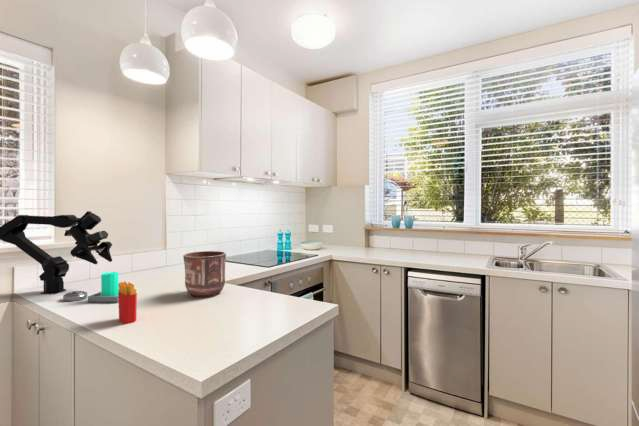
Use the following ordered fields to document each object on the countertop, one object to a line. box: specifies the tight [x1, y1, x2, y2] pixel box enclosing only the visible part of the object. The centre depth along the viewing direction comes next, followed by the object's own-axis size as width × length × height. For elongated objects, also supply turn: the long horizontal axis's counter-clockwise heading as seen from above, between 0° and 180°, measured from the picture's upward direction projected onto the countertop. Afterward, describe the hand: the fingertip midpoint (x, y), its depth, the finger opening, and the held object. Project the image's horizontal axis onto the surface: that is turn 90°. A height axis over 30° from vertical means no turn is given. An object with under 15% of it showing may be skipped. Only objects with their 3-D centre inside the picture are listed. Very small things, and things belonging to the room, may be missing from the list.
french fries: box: [118, 281, 138, 324], centre depth 109 cm, size 9×4×13 cm, turn 48°
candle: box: [100, 271, 120, 296], centre depth 134 cm, size 6×6×12 cm
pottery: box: [183, 250, 227, 298], centre depth 143 cm, size 18×18×18 cm
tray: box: [87, 291, 119, 304], centre depth 135 cm, size 12×12×2 cm
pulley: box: [62, 290, 88, 303], centre depth 134 cm, size 8×8×3 cm
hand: (104, 262), depth 144 cm, fingers open, 9 cm apart
